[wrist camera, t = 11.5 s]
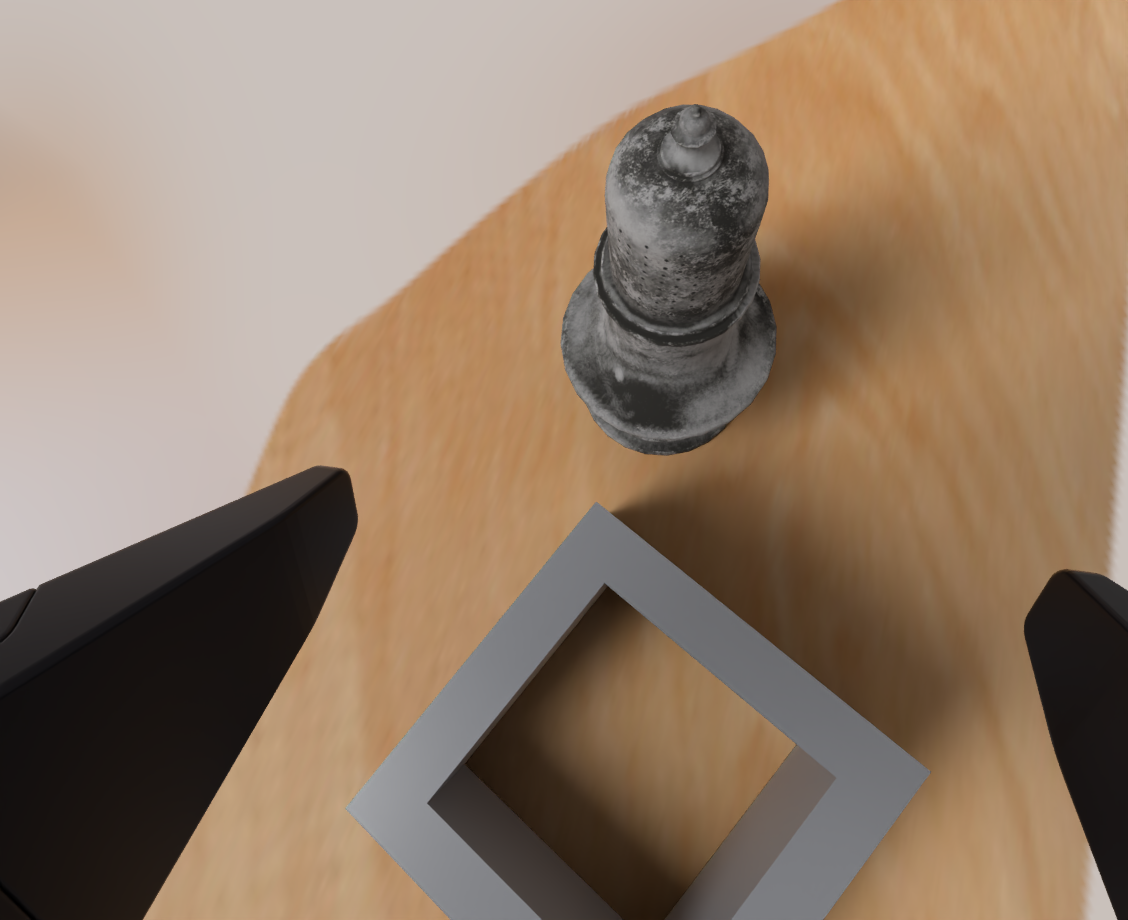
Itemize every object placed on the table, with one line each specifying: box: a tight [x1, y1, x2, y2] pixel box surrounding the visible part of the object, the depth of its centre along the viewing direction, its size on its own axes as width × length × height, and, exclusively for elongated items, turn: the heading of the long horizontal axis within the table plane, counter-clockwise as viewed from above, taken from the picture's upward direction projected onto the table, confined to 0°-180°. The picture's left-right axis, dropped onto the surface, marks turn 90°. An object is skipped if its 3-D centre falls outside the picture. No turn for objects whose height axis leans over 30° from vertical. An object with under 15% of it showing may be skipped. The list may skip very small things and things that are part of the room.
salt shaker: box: [561, 104, 776, 455], centre depth 15 cm, size 6×6×12 cm
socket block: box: [345, 502, 931, 920], centre depth 17 cm, size 10×10×4 cm
